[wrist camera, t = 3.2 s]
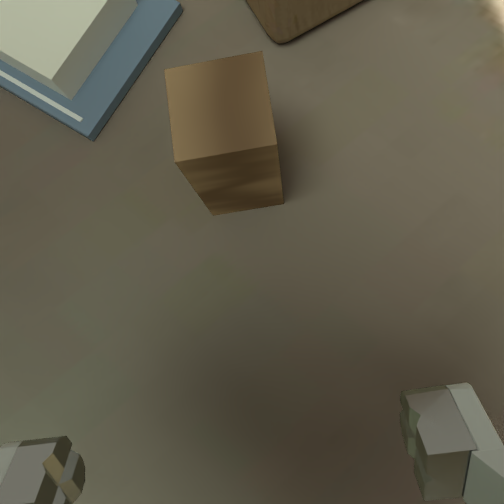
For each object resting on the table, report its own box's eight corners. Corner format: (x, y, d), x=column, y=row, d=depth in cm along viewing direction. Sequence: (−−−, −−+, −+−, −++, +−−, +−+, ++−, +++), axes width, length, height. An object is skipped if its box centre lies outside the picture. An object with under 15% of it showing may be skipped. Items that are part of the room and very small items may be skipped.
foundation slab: (-18, 49, 31) (-45, 24, 29) (48, -41, 32) (27, -72, 30) (71, 100, 30) (51, 79, 28) (138, 5, 31) (124, -24, 28)
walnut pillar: (213, 215, 28) (174, 162, 20) (204, 149, 29) (164, 69, 21) (284, 203, 28) (277, 144, 19) (273, 137, 29) (262, 50, 20)
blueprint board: (-49, 57, 33) (-58, 50, 32) (39, -61, 34) (32, -72, 33) (93, 141, 30) (87, 135, 29) (182, 11, 31) (179, 1, 30)
